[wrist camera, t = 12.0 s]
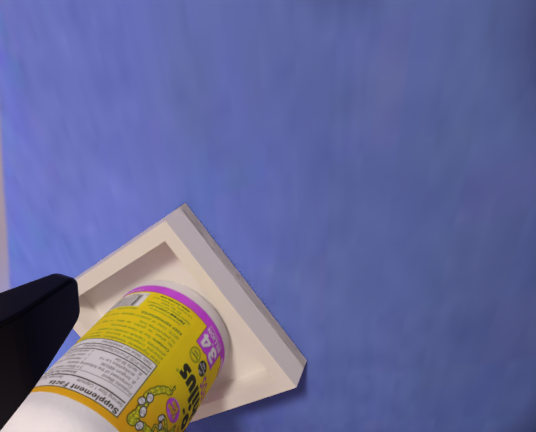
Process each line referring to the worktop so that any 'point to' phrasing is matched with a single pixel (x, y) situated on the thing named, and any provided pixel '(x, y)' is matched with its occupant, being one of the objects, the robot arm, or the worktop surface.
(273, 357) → the tray
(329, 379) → the worktop surface
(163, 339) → the supplement bottle
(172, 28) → the worktop surface
